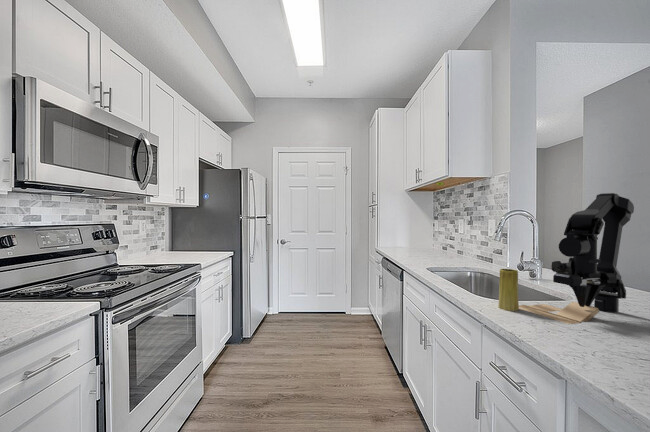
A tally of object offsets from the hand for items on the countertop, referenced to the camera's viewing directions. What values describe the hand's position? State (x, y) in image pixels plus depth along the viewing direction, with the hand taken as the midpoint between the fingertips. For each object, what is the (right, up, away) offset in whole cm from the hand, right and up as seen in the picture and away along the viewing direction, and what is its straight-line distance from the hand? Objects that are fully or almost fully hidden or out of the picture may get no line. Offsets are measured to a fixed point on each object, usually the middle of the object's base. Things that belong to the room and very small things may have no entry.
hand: (584, 306), depth 101 cm
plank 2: (-2, -3, +1) cm, 3 cm away
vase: (-18, -5, +9) cm, 21 cm away
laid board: (-10, -5, +3) cm, 12 cm away
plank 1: (-5, -5, +10) cm, 13 cm away
